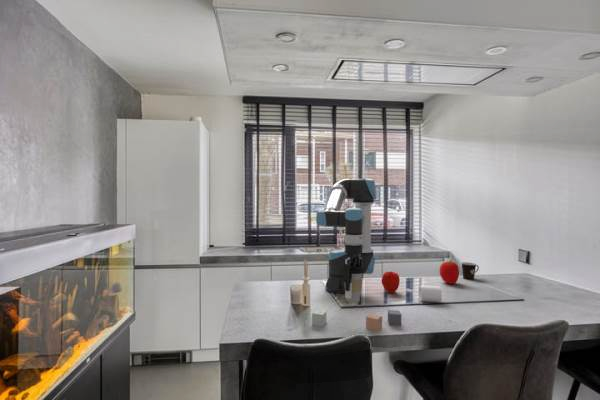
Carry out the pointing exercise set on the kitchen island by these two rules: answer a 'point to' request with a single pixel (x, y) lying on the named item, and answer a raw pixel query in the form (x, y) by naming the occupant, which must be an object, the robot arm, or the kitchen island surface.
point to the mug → (430, 294)
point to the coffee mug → (469, 270)
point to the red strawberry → (449, 272)
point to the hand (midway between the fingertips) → (353, 295)
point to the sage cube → (319, 317)
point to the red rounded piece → (390, 281)
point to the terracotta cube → (374, 322)
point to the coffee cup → (356, 283)
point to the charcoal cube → (394, 317)
